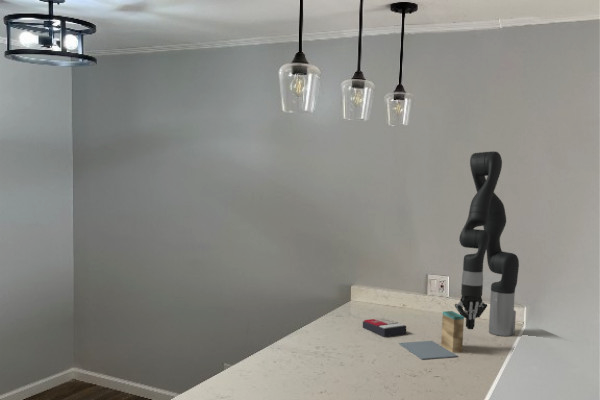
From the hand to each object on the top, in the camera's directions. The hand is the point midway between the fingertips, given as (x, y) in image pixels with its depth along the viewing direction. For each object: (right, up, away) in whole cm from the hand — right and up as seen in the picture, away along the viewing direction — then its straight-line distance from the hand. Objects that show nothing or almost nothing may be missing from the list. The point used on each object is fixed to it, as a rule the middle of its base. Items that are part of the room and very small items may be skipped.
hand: (469, 328), depth 222 cm
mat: (-17, -7, -4) cm, 19 cm away
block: (-7, -7, -2) cm, 10 cm away
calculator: (-29, -6, +19) cm, 35 cm away
